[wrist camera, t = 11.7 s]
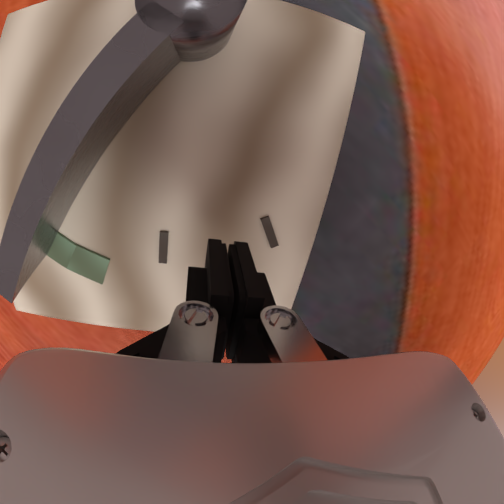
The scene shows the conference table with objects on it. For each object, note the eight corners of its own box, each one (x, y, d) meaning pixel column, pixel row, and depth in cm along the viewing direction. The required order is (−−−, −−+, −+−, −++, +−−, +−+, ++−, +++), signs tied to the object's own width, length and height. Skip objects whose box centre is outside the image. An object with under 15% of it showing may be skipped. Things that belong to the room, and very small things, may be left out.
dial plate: (352, 35, 12) (367, 31, 11) (276, 323, 22) (281, 337, 21) (19, 17, 7) (6, 13, 5) (23, 298, 17) (15, 311, 15)
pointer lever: (195, -11, 8) (195, -59, 4) (247, 28, 10) (272, -9, 6) (20, 230, 12) (-23, 274, 8) (60, 262, 14) (27, 315, 10)
